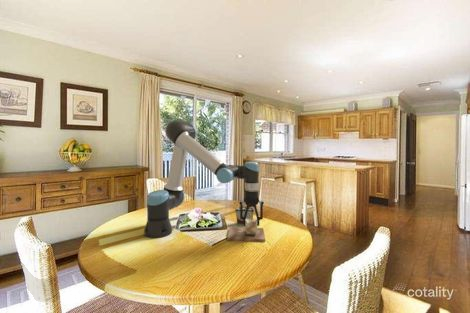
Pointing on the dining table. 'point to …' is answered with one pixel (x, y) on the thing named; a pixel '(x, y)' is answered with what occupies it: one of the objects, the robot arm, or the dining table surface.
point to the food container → (249, 214)
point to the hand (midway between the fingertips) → (251, 231)
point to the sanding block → (251, 227)
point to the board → (245, 235)
